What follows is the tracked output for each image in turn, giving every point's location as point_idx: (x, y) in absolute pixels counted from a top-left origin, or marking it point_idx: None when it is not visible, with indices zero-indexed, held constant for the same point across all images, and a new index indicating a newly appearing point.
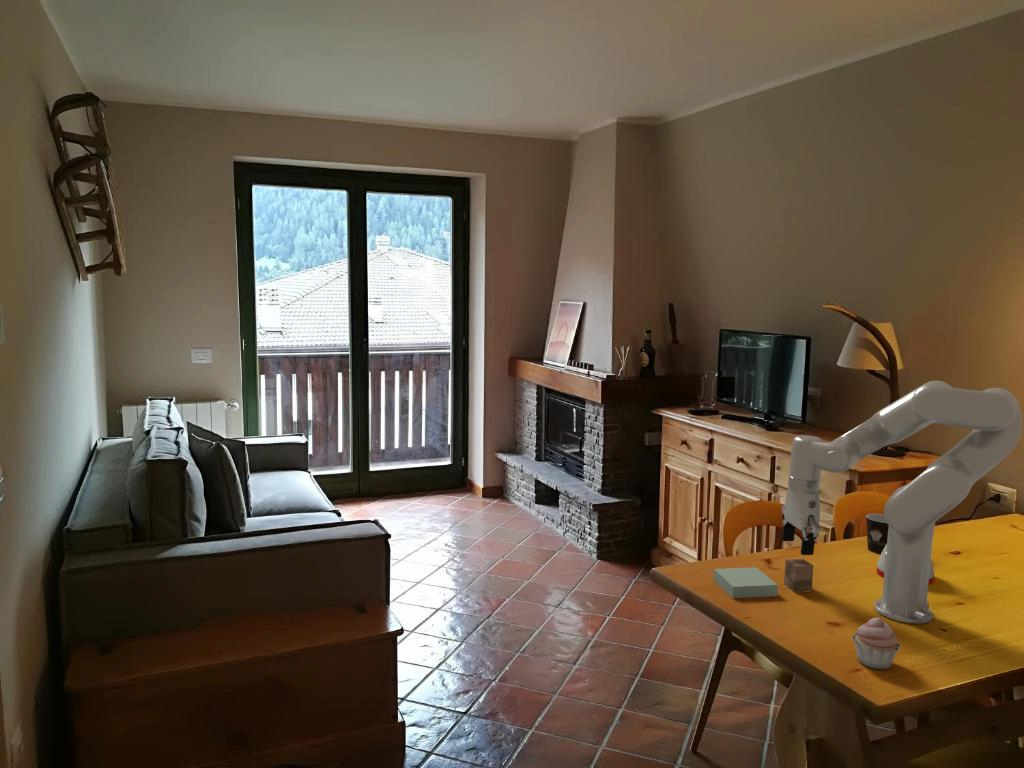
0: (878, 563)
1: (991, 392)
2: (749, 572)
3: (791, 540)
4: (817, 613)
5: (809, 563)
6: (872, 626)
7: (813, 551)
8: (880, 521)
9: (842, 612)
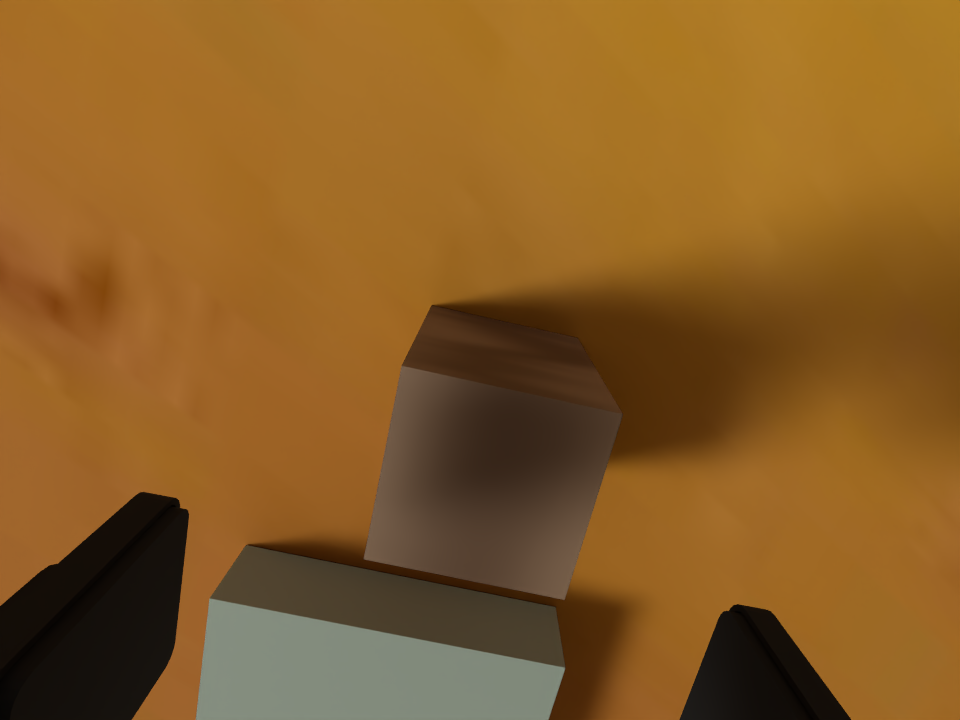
0: None
1: None
2: (294, 699)
3: (182, 545)
4: (863, 553)
5: (552, 409)
6: None
7: (792, 643)
8: None
9: (941, 395)
